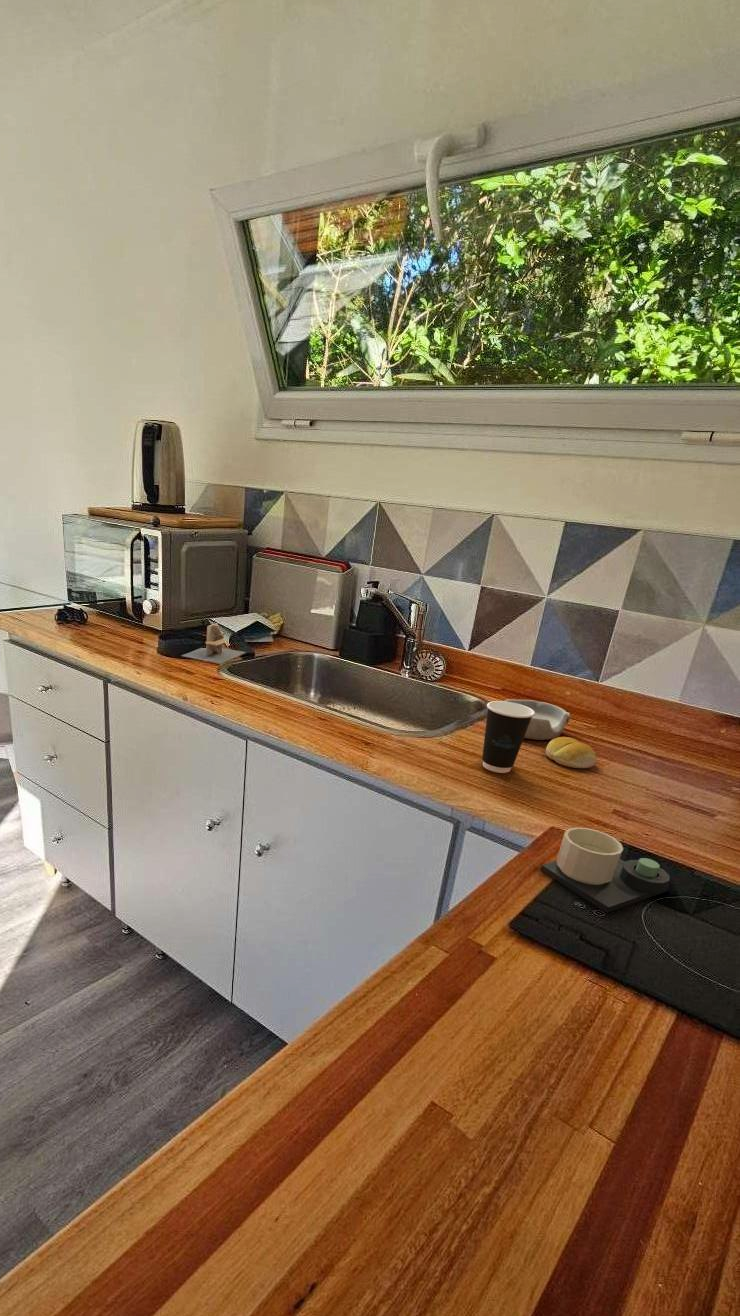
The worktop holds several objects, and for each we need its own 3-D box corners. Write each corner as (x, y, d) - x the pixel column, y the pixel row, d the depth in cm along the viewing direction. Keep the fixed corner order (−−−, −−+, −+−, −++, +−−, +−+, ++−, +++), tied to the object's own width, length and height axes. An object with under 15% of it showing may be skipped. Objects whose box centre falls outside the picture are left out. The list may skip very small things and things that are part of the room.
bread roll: (570, 750, 130) (575, 731, 128) (601, 768, 122) (608, 748, 120) (534, 751, 127) (539, 731, 126) (564, 770, 119) (570, 749, 118)
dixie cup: (489, 777, 113) (504, 716, 108) (465, 759, 120) (478, 700, 115) (528, 775, 115) (544, 715, 111) (502, 757, 122) (516, 700, 118)
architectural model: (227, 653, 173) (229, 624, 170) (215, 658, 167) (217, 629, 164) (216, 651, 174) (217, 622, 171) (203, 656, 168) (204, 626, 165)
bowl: (578, 854, 89) (588, 823, 87) (623, 880, 84) (634, 848, 82) (544, 863, 86) (553, 832, 84) (588, 891, 81) (599, 859, 79)
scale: (599, 853, 92) (604, 837, 91) (672, 894, 84) (678, 877, 83) (539, 870, 86) (544, 854, 85) (611, 916, 78) (617, 898, 77)
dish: (567, 730, 141) (574, 708, 139) (555, 748, 130) (561, 724, 128) (500, 714, 147) (505, 692, 145) (482, 729, 136) (487, 706, 134)
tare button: (642, 866, 85) (646, 856, 84) (660, 876, 83) (664, 865, 82) (631, 870, 84) (635, 859, 83) (648, 880, 82) (652, 869, 81)
